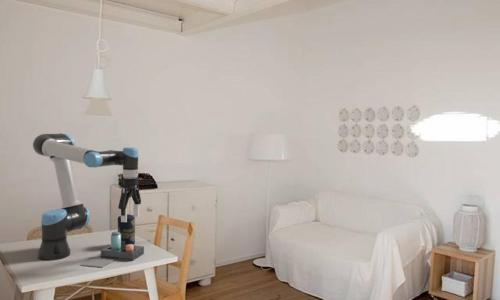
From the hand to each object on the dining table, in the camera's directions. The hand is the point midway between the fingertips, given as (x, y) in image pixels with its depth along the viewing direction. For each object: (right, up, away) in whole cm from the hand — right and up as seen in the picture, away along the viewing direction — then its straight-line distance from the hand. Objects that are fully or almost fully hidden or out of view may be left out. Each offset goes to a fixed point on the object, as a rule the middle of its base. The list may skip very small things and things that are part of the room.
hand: (130, 219), depth 209 cm
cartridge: (-9, -20, +5) cm, 22 cm away
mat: (-14, -20, -8) cm, 26 cm away
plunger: (0, -18, +1) cm, 18 cm away
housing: (-5, -20, +4) cm, 21 cm away
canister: (-9, -19, +23) cm, 31 cm away
